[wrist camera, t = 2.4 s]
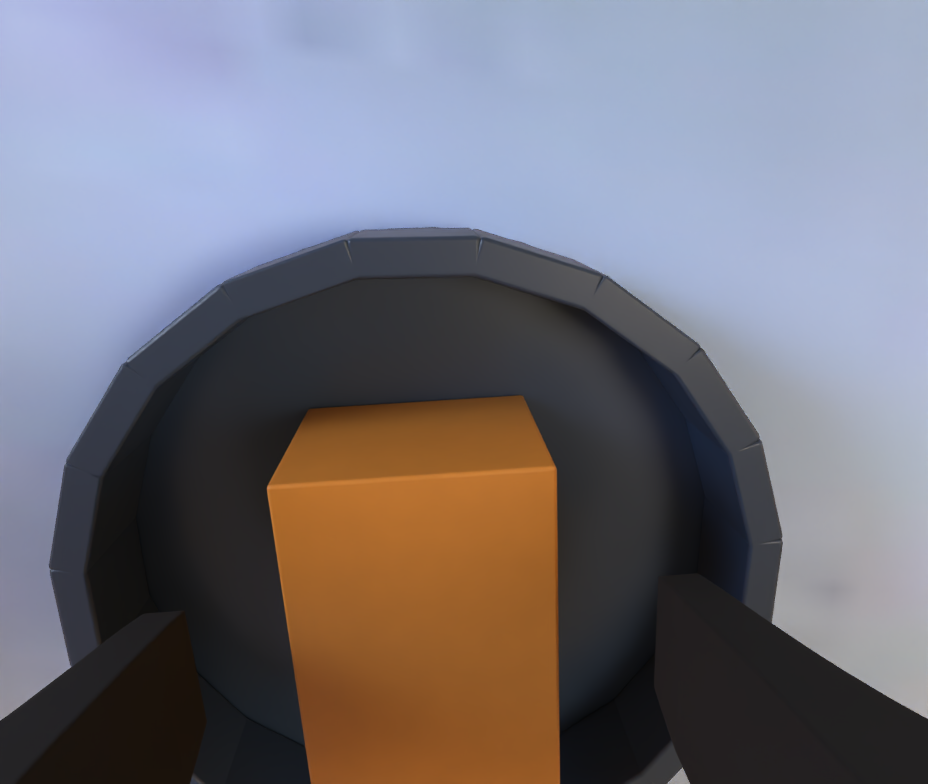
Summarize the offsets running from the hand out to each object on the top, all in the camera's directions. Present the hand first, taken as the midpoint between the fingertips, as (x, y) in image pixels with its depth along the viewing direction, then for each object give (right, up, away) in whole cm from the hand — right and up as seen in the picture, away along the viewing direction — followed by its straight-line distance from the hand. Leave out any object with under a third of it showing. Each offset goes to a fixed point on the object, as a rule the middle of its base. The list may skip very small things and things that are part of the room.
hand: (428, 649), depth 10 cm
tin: (0, +1, +4) cm, 4 cm away
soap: (0, +1, +3) cm, 3 cm away
